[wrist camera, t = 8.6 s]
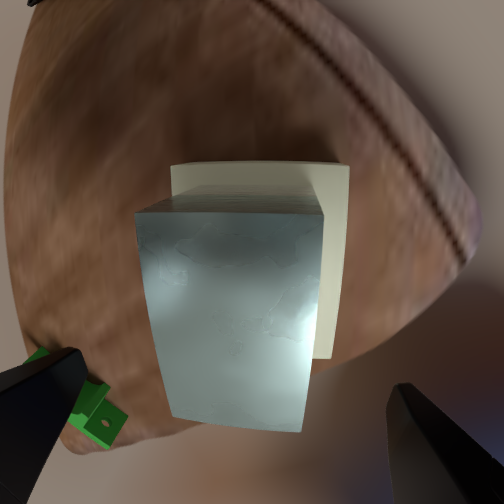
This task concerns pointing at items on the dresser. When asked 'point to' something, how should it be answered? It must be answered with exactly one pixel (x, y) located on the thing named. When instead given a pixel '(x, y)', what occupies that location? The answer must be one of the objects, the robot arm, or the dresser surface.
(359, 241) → the dresser surface
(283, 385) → the grey-blue rectangular block
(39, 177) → the dresser surface
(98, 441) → the pipe clamp
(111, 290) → the dresser surface
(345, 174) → the sage stand
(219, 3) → the dresser surface
